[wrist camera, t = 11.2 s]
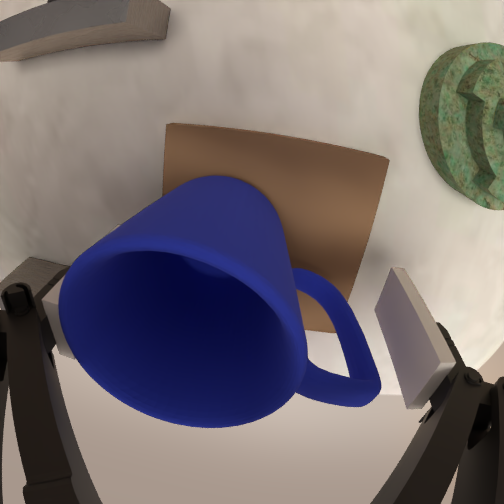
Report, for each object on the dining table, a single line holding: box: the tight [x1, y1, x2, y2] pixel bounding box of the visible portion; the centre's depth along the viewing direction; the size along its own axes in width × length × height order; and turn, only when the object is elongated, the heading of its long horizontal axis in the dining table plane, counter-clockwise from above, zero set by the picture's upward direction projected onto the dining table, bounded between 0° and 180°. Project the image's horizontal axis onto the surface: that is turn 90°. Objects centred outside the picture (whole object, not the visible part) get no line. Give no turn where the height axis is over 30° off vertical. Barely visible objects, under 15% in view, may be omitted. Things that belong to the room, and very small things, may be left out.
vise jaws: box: [0, 0, 170, 310], centre depth 15 cm, size 23×12×5 cm, turn 172°
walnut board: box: [162, 123, 389, 333], centre depth 18 cm, size 12×12×1 cm
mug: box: [58, 176, 381, 428], centre depth 14 cm, size 8×12×10 cm
